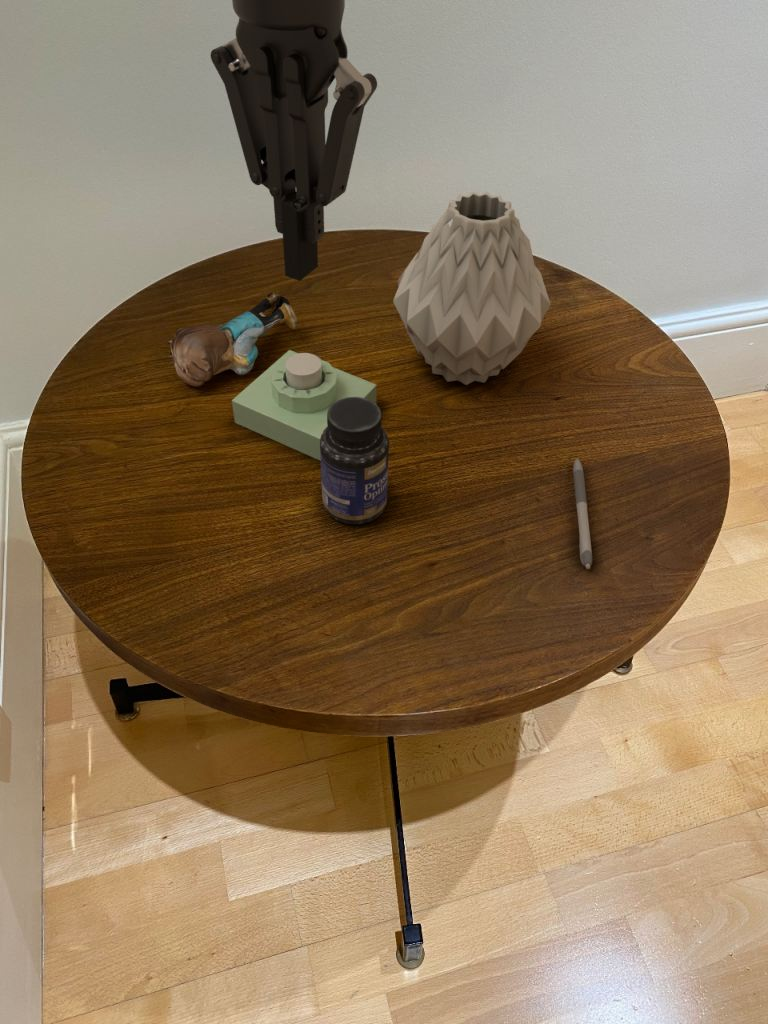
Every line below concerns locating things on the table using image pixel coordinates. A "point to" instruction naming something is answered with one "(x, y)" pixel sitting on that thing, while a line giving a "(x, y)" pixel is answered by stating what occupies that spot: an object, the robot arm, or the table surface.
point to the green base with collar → (295, 405)
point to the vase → (472, 290)
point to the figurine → (226, 342)
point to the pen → (582, 515)
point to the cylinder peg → (303, 371)
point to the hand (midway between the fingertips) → (301, 270)
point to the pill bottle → (354, 461)
